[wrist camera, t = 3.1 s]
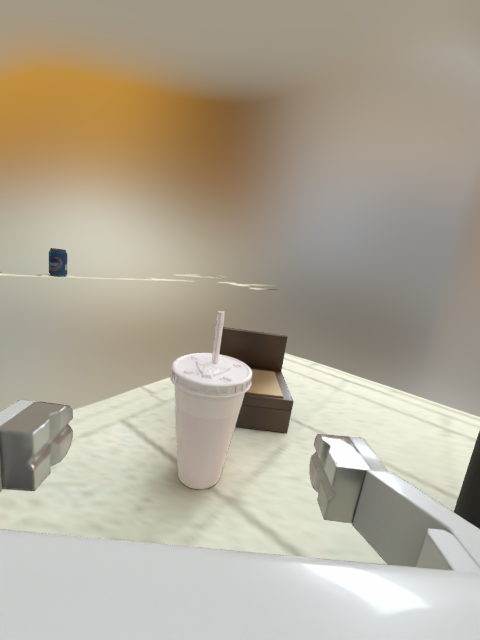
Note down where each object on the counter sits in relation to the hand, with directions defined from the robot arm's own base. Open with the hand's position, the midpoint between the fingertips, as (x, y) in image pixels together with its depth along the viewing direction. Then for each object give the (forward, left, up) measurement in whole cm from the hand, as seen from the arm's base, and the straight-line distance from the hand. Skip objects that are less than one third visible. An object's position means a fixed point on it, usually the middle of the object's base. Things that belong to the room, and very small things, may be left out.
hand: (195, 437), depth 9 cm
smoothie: (0, +12, -12) cm, 17 cm away
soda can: (-80, +120, -12) cm, 145 cm away
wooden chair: (+4, +24, -12) cm, 27 cm away
